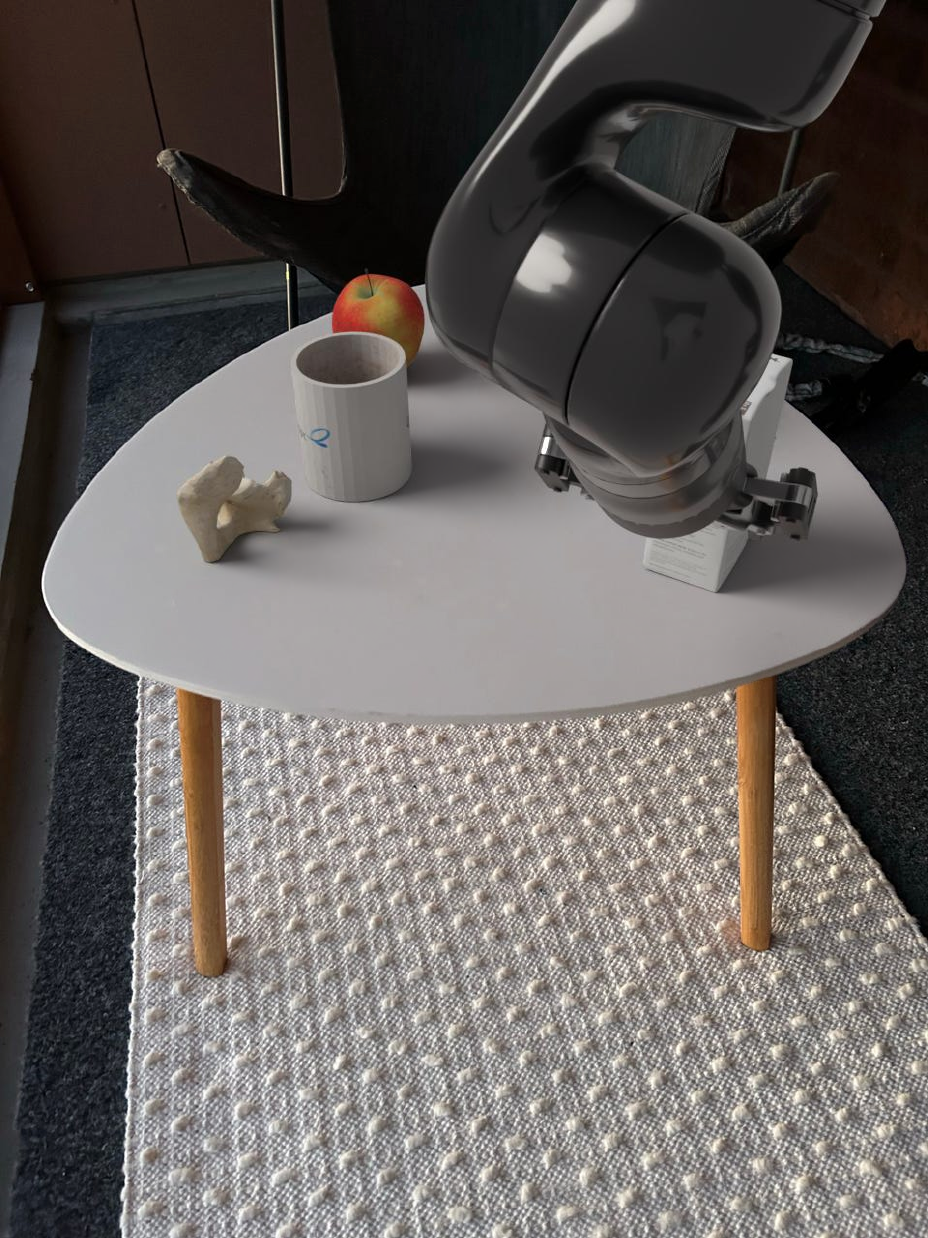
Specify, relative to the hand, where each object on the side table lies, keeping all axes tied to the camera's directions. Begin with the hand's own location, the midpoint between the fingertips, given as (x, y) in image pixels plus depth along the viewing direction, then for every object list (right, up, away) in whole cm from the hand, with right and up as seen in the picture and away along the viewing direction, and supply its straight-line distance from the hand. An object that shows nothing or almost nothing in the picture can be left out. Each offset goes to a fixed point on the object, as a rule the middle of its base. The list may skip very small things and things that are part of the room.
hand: (685, 507), depth 64 cm
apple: (-21, +16, +36) cm, 45 cm away
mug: (-22, +6, +25) cm, 34 cm away
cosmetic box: (+4, -2, +16) cm, 16 cm away
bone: (-30, 0, +18) cm, 35 cm away
